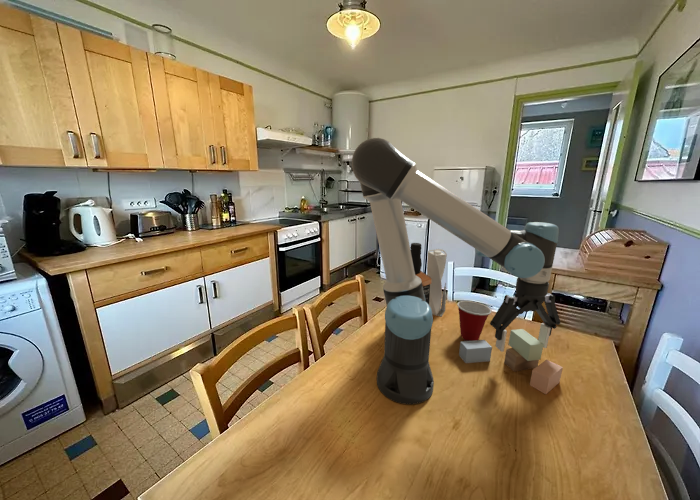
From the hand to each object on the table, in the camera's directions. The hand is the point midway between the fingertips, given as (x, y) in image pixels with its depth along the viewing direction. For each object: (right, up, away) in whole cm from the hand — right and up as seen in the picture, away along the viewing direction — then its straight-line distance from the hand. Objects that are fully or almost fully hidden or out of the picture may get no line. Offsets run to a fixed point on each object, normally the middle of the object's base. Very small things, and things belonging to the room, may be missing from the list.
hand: (520, 347), depth 83 cm
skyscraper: (-15, +2, +35) cm, 38 cm away
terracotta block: (+3, -8, -6) cm, 10 cm away
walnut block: (+1, -6, +2) cm, 6 cm away
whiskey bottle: (-27, 0, +24) cm, 36 cm away
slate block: (-11, -5, +5) cm, 14 cm away
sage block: (+1, -1, 0) cm, 2 cm away
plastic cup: (-8, -2, +16) cm, 18 cm away
